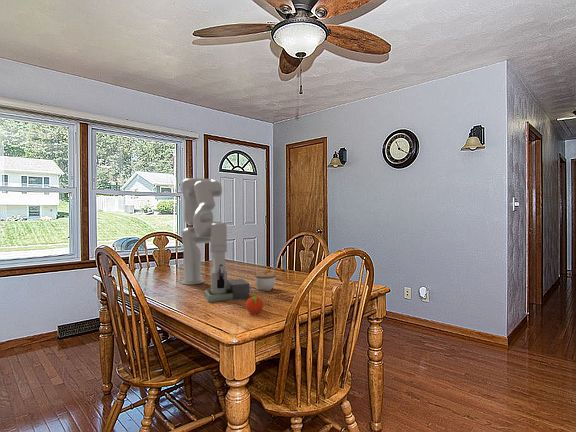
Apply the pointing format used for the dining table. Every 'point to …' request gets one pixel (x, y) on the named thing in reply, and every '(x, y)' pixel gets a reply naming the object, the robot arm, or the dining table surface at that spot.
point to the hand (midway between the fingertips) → (219, 286)
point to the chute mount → (230, 291)
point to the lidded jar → (265, 281)
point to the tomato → (254, 305)
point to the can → (214, 283)
